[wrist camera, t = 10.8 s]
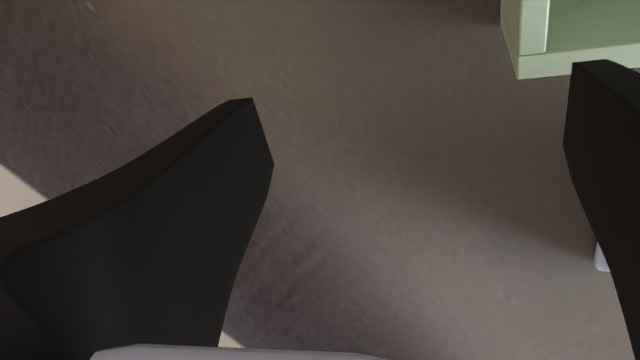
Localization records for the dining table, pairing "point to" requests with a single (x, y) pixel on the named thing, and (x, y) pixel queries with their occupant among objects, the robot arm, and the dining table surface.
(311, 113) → the dining table surface
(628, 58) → the desk tray
